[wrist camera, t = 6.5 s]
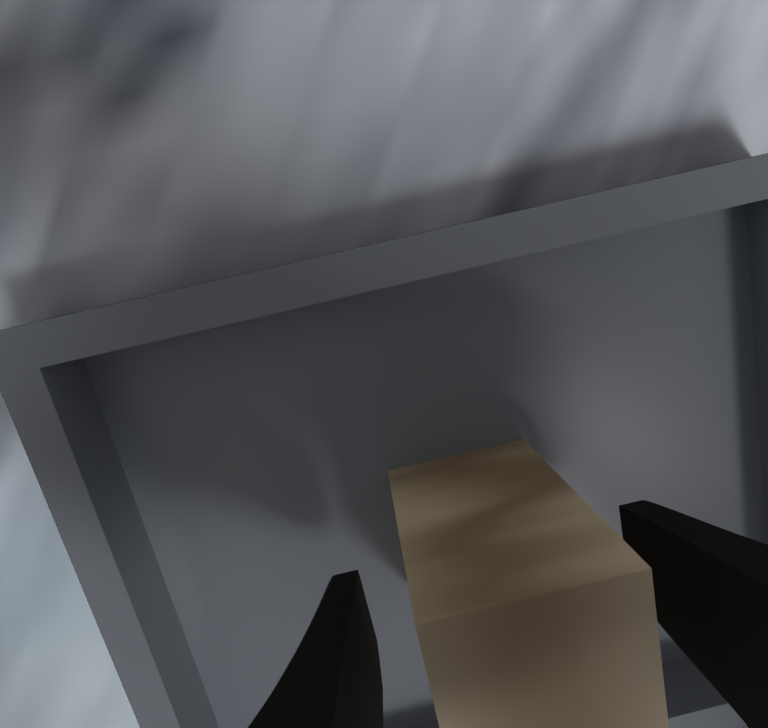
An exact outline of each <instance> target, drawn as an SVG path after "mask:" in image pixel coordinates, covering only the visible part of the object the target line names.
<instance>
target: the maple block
mask: <svg viewBox="0 0 768 728" xmlns="http://www.w3.org/2000/svg"><path fill="white" fill-rule="evenodd" d="M388 476H389V482H390V488H391V493H392V499H393V504H394V510H395V516H396V521H397V527H398V532H399V538H400V544H401V549H402V555H403V560H404V566H405V571H406V577H407V583H408V588H409V594H410V599H411V605H412V611H413V616H414V622H415V627H416V631H417V635H418V639H419V644H420V648H421V652H422V656H423V661H424V665H425V669H426V673H427V677H428V682H429V686H430V690H431V694H432V699H433V703H434V707H435V711H436V715H437V720H438V724H439V728H669V723H668V714H667V705H666V696H665V687H664V678H663V668H662V659H661V650H660V641H659V632H658V622H657V613H656V604H655V595H654V586H653V577H652V568H651V567H650V566H649V565H648V564H647V563H646V562H645V561H644V560H643V559H642V558H641V557H640V556H639V555H638V554H637V553H636V552H635V551H634V550H633V549H632V548H631V547H630V546H629V545H628V544H627V543H626V542H625V541H624V540H623V539H622V538H621V537H620V536H619V535H618V534H617V533H616V532H615V531H614V530H613V529H612V528H611V527H610V526H609V525H608V524H607V523H606V522H605V521H604V520H603V519H602V518H601V517H600V516H599V515H598V514H597V513H596V512H595V511H594V510H593V509H592V508H591V507H590V506H589V505H588V504H587V503H586V502H585V501H584V500H583V499H582V498H581V497H580V496H579V495H578V494H577V493H576V492H575V491H574V490H573V489H572V488H571V487H570V486H569V484H568V483H567V482H566V481H565V480H564V479H563V478H562V477H561V476H560V475H559V474H558V473H557V472H556V471H555V470H554V469H553V468H552V467H551V466H550V465H549V464H548V463H547V462H546V461H545V460H544V459H543V458H542V457H541V456H540V455H539V454H538V453H537V452H536V451H535V450H534V449H533V448H532V447H531V446H530V445H529V444H528V443H527V442H526V441H525V440H524V439H521V440H517V441H512V442H508V443H504V444H499V445H495V446H491V447H487V448H482V449H478V450H474V451H469V452H465V453H461V454H456V455H452V456H448V457H444V458H439V459H435V460H431V461H426V462H422V463H418V464H414V465H409V466H405V467H401V468H396V469H392V470H388Z"/></svg>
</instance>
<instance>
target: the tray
mask: <svg viewBox="0 0 768 728" xmlns="http://www.w3.org/2000/svg"><path fill="white" fill-rule="evenodd" d="M0 391H1V393H2V396H3V398H4V400H5V403H6V405H7V408H8V410H9V412H10V415H11V417H12V420H13V422H14V425H15V427H16V429H17V432H18V434H19V437H20V439H21V441H22V444H23V446H24V449H25V451H26V453H27V456H28V458H29V461H30V463H31V465H32V468H33V470H34V473H35V475H36V478H37V480H38V482H39V485H40V487H41V490H42V492H43V494H44V497H45V499H46V502H47V504H48V506H49V509H50V511H51V514H52V516H53V519H54V521H55V523H56V526H57V528H58V531H59V533H60V535H61V538H62V540H63V543H64V545H65V547H66V550H67V552H68V555H69V557H70V560H71V562H72V564H73V567H74V569H75V572H76V574H77V576H78V579H79V581H80V584H81V586H82V588H83V591H84V593H85V596H86V598H87V601H88V603H89V605H90V608H91V610H92V613H93V615H94V617H95V620H96V622H97V625H98V627H99V629H100V632H101V634H102V637H103V639H104V641H105V644H106V646H107V649H108V651H109V654H110V656H111V658H112V661H113V663H114V666H115V668H116V670H117V673H118V675H119V678H120V680H121V682H122V685H123V687H124V690H125V692H126V695H127V697H128V699H129V702H130V704H131V707H132V709H133V711H134V714H135V716H136V719H137V721H138V723H139V726H140V728H248V727H249V725H250V724H251V722H252V721H253V719H254V718H255V717H256V715H257V714H258V712H259V711H260V709H261V708H262V706H263V705H264V703H265V702H266V700H267V699H268V697H269V696H270V694H271V693H272V691H273V689H274V688H275V686H276V685H277V683H278V681H279V680H280V678H281V676H282V675H283V673H284V671H285V669H286V668H287V666H288V664H289V662H290V661H291V659H292V657H293V655H294V654H295V652H296V650H297V648H298V646H299V644H300V643H301V641H302V639H303V637H304V635H305V633H306V631H307V629H308V627H309V625H310V623H311V621H312V619H313V617H314V614H315V612H316V610H317V608H318V606H319V604H320V601H321V599H322V597H323V595H324V592H325V590H326V588H327V585H328V583H329V581H330V579H331V578H332V576H333V575H337V574H342V573H346V572H350V571H354V570H358V571H359V575H360V579H361V582H362V586H363V590H364V594H365V597H366V601H367V605H368V608H369V612H370V616H371V620H372V623H373V627H374V631H375V634H376V638H377V642H378V650H379V658H380V667H381V676H382V685H383V728H439V724H438V720H437V715H436V711H435V707H434V703H433V699H432V694H431V690H430V686H429V682H428V677H427V673H426V669H425V665H424V661H423V656H422V652H421V648H420V644H419V639H418V635H417V631H416V627H415V622H414V616H413V611H412V605H411V599H410V594H409V588H408V583H407V577H406V571H405V566H404V560H403V555H402V549H401V544H400V538H399V532H398V527H397V521H396V516H395V510H394V504H393V499H392V493H391V488H390V482H389V476H388V470H392V469H396V468H401V467H405V466H409V465H414V464H418V463H422V462H426V461H431V460H435V459H439V458H444V457H448V456H452V455H456V454H461V453H465V452H469V451H474V450H478V449H482V448H487V447H491V446H495V445H499V444H504V443H508V442H512V441H517V440H521V439H524V440H525V441H526V442H527V443H528V444H529V445H530V446H531V447H532V448H533V449H534V450H535V451H536V452H537V453H538V454H539V455H540V456H541V457H542V458H543V459H544V460H545V461H546V462H547V463H548V464H549V465H550V466H551V467H552V468H553V469H554V470H555V471H556V472H557V473H558V474H559V475H560V476H561V477H562V478H563V479H564V480H565V481H566V482H567V483H568V484H569V486H570V487H571V488H572V489H573V490H574V491H575V492H576V493H577V494H578V495H579V496H580V497H581V498H582V499H583V500H584V501H585V502H586V503H587V504H588V505H589V506H590V507H591V508H592V509H593V510H594V511H595V512H596V513H597V514H598V515H599V516H600V517H601V518H602V519H603V520H604V521H605V522H606V523H607V524H608V525H609V526H610V527H611V528H612V529H613V530H614V531H615V532H616V533H617V534H618V535H619V536H620V537H621V538H622V539H623V535H622V527H621V520H620V512H619V506H620V505H624V504H628V503H632V502H636V501H640V500H646V501H649V502H653V503H656V504H658V505H661V506H664V507H667V508H669V509H672V510H675V511H677V512H680V513H683V514H685V515H688V516H691V517H693V518H696V519H698V520H701V521H704V522H706V523H709V524H712V525H714V526H717V527H720V528H722V529H725V530H728V531H731V532H733V533H736V534H739V535H742V536H744V537H747V538H750V539H753V540H756V541H759V542H762V543H765V544H768V153H767V154H762V155H758V156H754V157H749V158H745V159H741V160H736V161H732V162H728V163H723V164H719V165H715V166H710V167H706V168H702V169H697V170H693V171H689V172H684V173H680V174H676V175H671V176H667V177H663V178H658V179H654V180H650V181H645V182H641V183H637V184H632V185H628V186H624V187H619V188H615V189H611V190H606V191H602V192H598V193H593V194H589V195H585V196H580V197H576V198H572V199H567V200H563V201H559V202H554V203H550V204H546V205H541V206H537V207H533V208H528V209H524V210H520V211H515V212H511V213H506V214H502V215H498V216H493V217H489V218H485V219H480V220H476V221H472V222H467V223H463V224H459V225H454V226H450V227H446V228H441V229H437V230H433V231H428V232H424V233H420V234H415V235H411V236H407V237H402V238H398V239H394V240H389V241H385V242H381V243H376V244H372V245H368V246H363V247H359V248H355V249H350V250H346V251H342V252H337V253H333V254H329V255H324V256H320V257H316V258H311V259H307V260H303V261H298V262H294V263H290V264H285V265H281V266H277V267H272V268H268V269H264V270H259V271H255V272H251V273H246V274H242V275H238V276H233V277H229V278H225V279H220V280H216V281H212V282H207V283H203V284H199V285H194V286H190V287H186V288H181V289H177V290H173V291H168V292H164V293H160V294H155V295H151V296H147V297H142V298H138V299H133V300H129V301H125V302H120V303H116V304H112V305H107V306H103V307H99V308H94V309H90V310H86V311H81V312H77V313H73V314H68V315H64V316H60V317H55V318H51V319H47V320H42V321H38V322H34V323H29V324H25V325H21V326H16V327H12V328H8V329H3V330H0ZM658 632H659V641H660V650H661V659H662V668H663V678H664V687H665V696H666V705H667V714H668V723H669V728H741V727H745V726H747V725H746V724H745V722H744V721H743V720H742V719H741V718H740V716H739V715H738V714H737V713H736V711H735V710H734V709H733V708H732V707H731V706H730V705H729V704H728V702H727V701H726V700H725V699H724V698H723V697H722V696H721V694H720V693H719V692H718V691H717V690H716V689H715V688H714V686H713V685H712V684H711V683H710V682H709V681H708V680H707V678H706V677H705V676H704V675H703V674H702V673H701V672H700V670H699V669H698V668H697V667H696V666H695V665H694V664H693V662H692V661H691V660H690V659H689V658H688V657H687V656H686V654H685V653H684V652H683V651H682V650H681V649H680V648H679V646H678V645H677V644H676V643H675V642H674V641H673V639H672V638H671V637H670V636H669V635H668V634H667V633H666V631H665V630H664V629H663V628H662V627H661V625H660V624H659V623H658Z"/></svg>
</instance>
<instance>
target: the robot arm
mask: <svg viewBox="0 0 768 728" xmlns="http://www.w3.org/2000/svg"><path fill="white" fill-rule="evenodd" d="M619 512H620V520H621V527H622V535H623V540H624V541H625V542H626V543H627V544H628V545H629V546H630V547H631V548H632V549H633V550H634V551H635V552H636V553H637V554H638V555H639V556H640V557H641V558H642V559H643V560H644V561H645V562H646V563H647V564H648V565H649V566H650V567H651V568H652V577H653V586H654V595H655V604H656V613H657V622H658V623H659V624H660V625H661V627H662V628H663V629H664V630H665V631H666V633H667V634H668V635H669V636H670V637H671V638H672V639H673V641H674V642H675V643H676V644H677V645H678V646H679V648H680V649H681V650H682V651H683V652H684V653H685V654H686V656H687V657H688V658H689V659H690V660H691V661H692V662H693V664H694V665H695V666H696V667H697V668H698V669H699V670H700V672H701V673H702V674H703V675H704V676H705V677H706V678H707V680H708V681H709V682H710V683H711V684H712V685H713V686H714V688H715V689H716V690H717V691H718V692H719V693H720V694H721V696H722V697H723V698H724V699H725V700H726V701H727V702H728V704H729V705H730V706H731V707H732V708H733V709H734V710H735V711H736V713H737V714H738V715H739V716H740V718H741V719H742V720H743V721H744V722H745V724H746V725H747V726H748V727H749V728H768V544H765V543H762V542H759V541H756V540H753V539H750V538H747V537H744V536H742V535H739V534H736V533H733V532H731V531H728V530H725V529H722V528H720V527H717V526H714V525H712V524H709V523H706V522H704V521H701V520H698V519H696V518H693V517H691V516H688V515H685V514H683V513H680V512H677V511H675V510H672V509H669V508H667V507H664V506H661V505H658V504H656V503H653V502H649V501H646V500H640V501H636V502H632V503H628V504H624V505H620V506H619ZM248 728H383V685H382V676H381V667H380V658H379V650H378V642H377V638H376V634H375V631H374V627H373V623H372V620H371V616H370V612H369V608H368V605H367V601H366V597H365V594H364V590H363V586H362V582H361V579H360V575H359V571H358V570H354V571H350V572H346V573H342V574H337V575H333V576H332V578H331V579H330V581H329V583H328V585H327V588H326V590H325V592H324V595H323V597H322V599H321V601H320V604H319V606H318V608H317V610H316V612H315V614H314V617H313V619H312V621H311V623H310V625H309V627H308V629H307V631H306V633H305V635H304V637H303V639H302V641H301V643H300V644H299V646H298V648H297V650H296V652H295V654H294V655H293V657H292V659H291V661H290V662H289V664H288V666H287V668H286V669H285V671H284V673H283V675H282V676H281V678H280V680H279V681H278V683H277V685H276V686H275V688H274V689H273V691H272V693H271V694H270V696H269V697H268V699H267V700H266V702H265V703H264V705H263V706H262V708H261V709H260V711H259V712H258V714H257V715H256V717H255V718H254V719H253V721H252V722H251V724H250V725H249V727H248Z"/></svg>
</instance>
